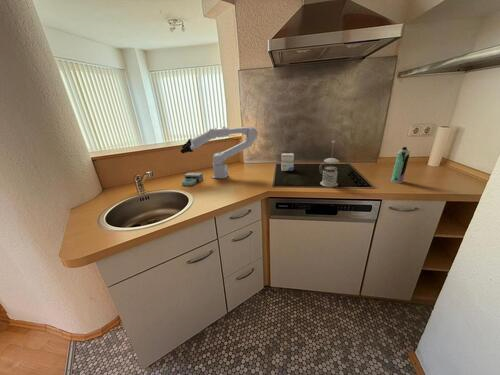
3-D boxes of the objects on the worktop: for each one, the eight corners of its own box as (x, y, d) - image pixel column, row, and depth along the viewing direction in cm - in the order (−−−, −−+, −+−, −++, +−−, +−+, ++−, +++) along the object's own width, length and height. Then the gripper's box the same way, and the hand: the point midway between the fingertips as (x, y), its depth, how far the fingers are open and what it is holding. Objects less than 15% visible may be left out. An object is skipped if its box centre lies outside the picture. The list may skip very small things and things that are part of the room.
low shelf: (203, 179, 135) (202, 173, 134) (199, 182, 131) (198, 175, 129) (189, 178, 137) (188, 172, 136) (185, 181, 133) (184, 175, 131)
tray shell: (196, 182, 130) (196, 178, 129) (192, 185, 125) (191, 182, 124) (186, 182, 132) (186, 178, 131) (182, 185, 126) (181, 181, 125)
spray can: (404, 183, 115) (413, 147, 107) (393, 182, 116) (401, 147, 109) (399, 179, 120) (408, 146, 112) (389, 179, 121) (397, 146, 114)
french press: (331, 188, 112) (336, 142, 103) (314, 182, 121) (317, 140, 112) (341, 183, 118) (347, 140, 108) (324, 179, 126) (328, 138, 117)
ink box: (292, 168, 149) (293, 153, 145) (293, 170, 145) (294, 154, 140) (281, 168, 150) (281, 153, 146) (281, 170, 146) (281, 154, 141)
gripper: (197, 131, 134) (179, 141, 135) (196, 138, 121) (176, 148, 122) (203, 140, 137) (185, 150, 138) (202, 148, 125) (183, 158, 126)
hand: (181, 149), depth 131 cm, fingers open, 7 cm apart
